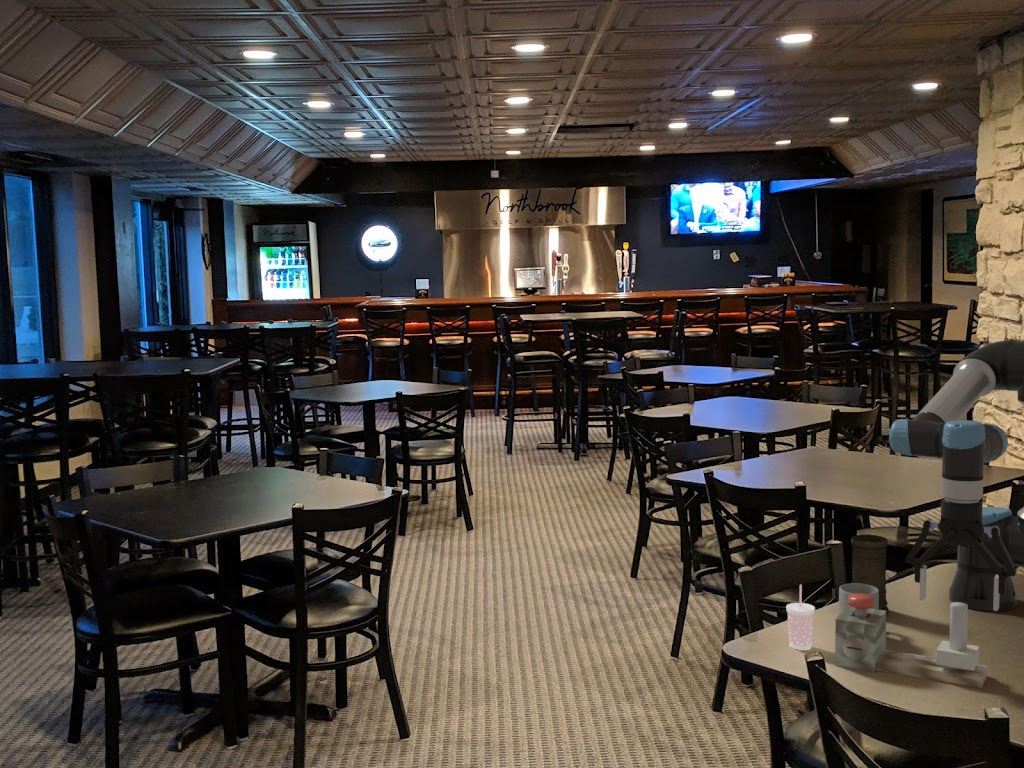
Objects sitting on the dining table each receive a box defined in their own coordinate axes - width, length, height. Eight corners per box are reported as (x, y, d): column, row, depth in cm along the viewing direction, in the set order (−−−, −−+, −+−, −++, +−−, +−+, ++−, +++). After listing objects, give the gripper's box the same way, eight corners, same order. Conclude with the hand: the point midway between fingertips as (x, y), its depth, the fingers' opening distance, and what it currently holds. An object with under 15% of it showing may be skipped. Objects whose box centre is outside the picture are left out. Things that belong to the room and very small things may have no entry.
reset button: (876, 620, 218) (876, 595, 217) (870, 628, 213) (871, 602, 213) (851, 617, 220) (851, 592, 220) (845, 624, 216) (845, 598, 215)
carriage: (978, 660, 208) (980, 602, 207) (974, 670, 203) (975, 611, 202) (941, 654, 212) (942, 597, 210) (936, 664, 207) (937, 606, 205)
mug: (867, 645, 226) (868, 597, 225) (831, 636, 232) (832, 589, 231) (891, 631, 234) (892, 584, 233) (856, 622, 240) (856, 577, 239)
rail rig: (987, 673, 209) (989, 625, 208) (980, 691, 200) (981, 642, 199) (846, 649, 224) (847, 605, 223) (834, 666, 215) (834, 619, 214)
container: (873, 620, 242) (874, 545, 240) (841, 610, 249) (842, 538, 247) (896, 612, 247) (897, 538, 245) (863, 602, 254) (864, 531, 252)
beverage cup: (787, 640, 230) (787, 579, 229) (815, 643, 228) (816, 581, 227) (784, 650, 225) (784, 587, 223) (813, 653, 223) (814, 590, 221)
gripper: (1034, 501, 200) (1030, 607, 202) (899, 489, 213) (897, 589, 215) (1030, 509, 194) (1026, 618, 196) (891, 496, 207) (889, 599, 209)
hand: (958, 603), depth 206 cm, fingers open, 13 cm apart
